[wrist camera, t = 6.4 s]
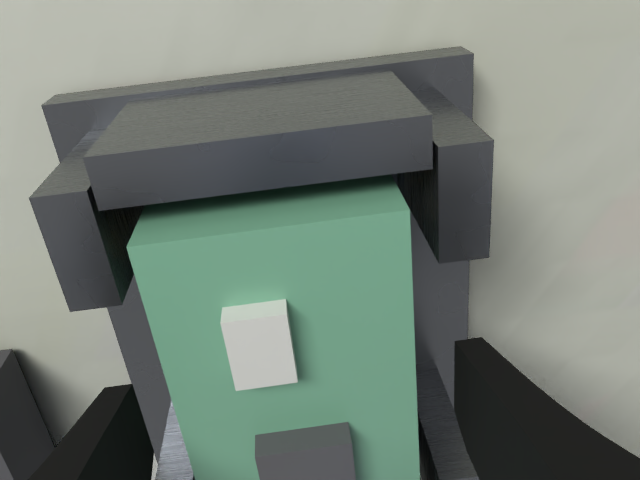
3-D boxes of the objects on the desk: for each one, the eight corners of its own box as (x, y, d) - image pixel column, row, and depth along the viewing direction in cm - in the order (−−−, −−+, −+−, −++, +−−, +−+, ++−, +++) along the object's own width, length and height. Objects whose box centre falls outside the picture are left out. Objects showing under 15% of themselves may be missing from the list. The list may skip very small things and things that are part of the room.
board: (388, 169, 12) (418, 225, 10) (404, 472, 16) (428, 561, 14) (146, 201, 12) (118, 264, 10) (225, 498, 16) (219, 591, 14)
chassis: (460, 46, 15) (546, 94, 10) (456, 416, 20) (510, 551, 16) (55, 95, 14) (-40, 166, 10) (167, 456, 20) (140, 604, 16)
